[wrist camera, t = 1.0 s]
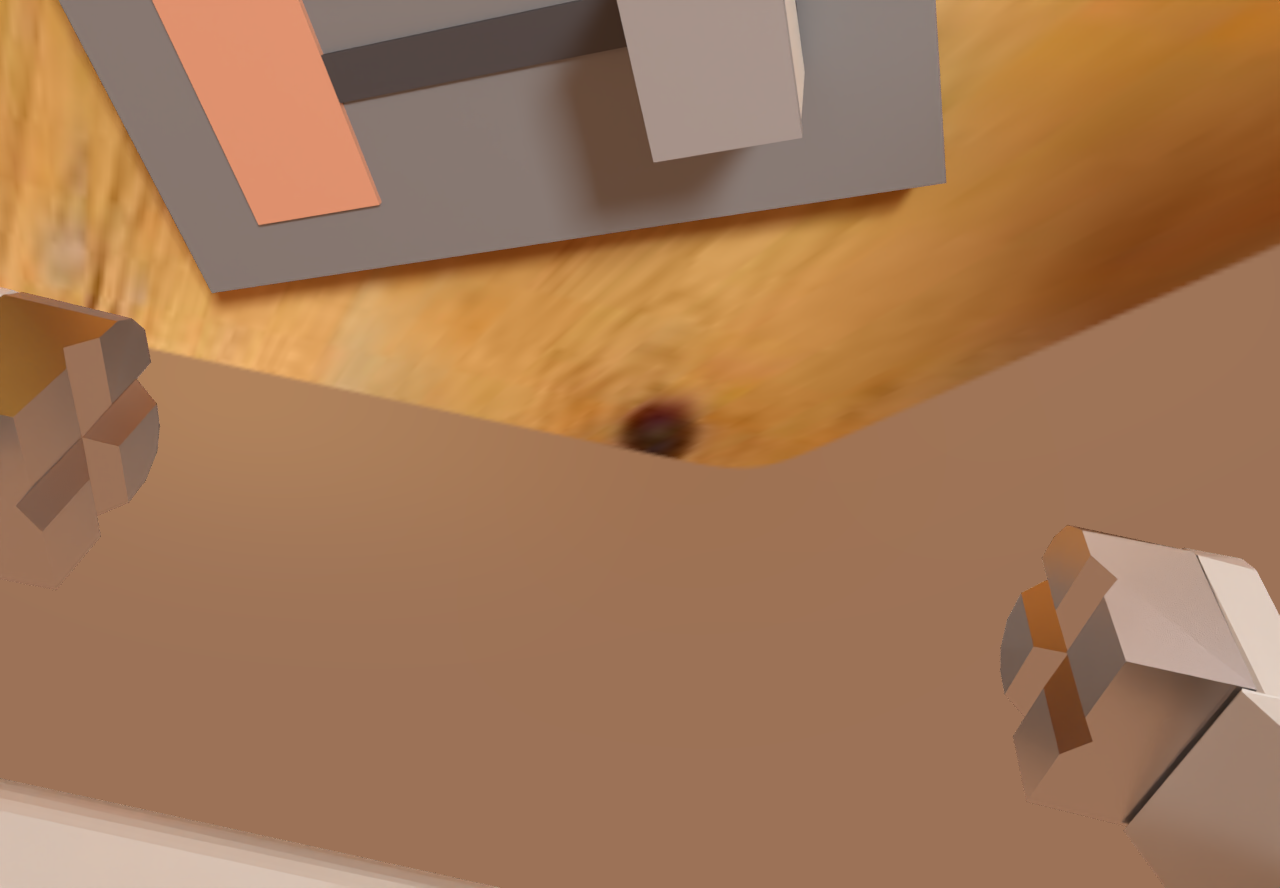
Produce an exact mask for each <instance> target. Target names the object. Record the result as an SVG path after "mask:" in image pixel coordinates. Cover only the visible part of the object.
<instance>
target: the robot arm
mask: <svg viewBox="0 0 1280 888" xmlns="http://www.w3.org/2000/svg"><path fill="white" fill-rule="evenodd" d="M150 363H151V360H150V354H149V349H148V343H147V338H146V333H145V329H143V328H142V327H141V326H140V325H139V324H138V323H137V322H135V321H134V320H133V319H132V318H128V317H124V316H119V315H115V314H111V313H107V312H103V311H99V310H95V309H90V308H86V307H82V306H78V305H74V304H70V303H66V302H61V301H57V300H53V299H49V298H45V297H41V296H37V295H33V294H28V293H24V292H20V293H18V292H16V291H14V290H11V289H6V288H2V287H0V579H2V580H7V581H12V582H17V583H23V584H28V585H33V586H38V587H44V588H49V589H54V590H57V588H58V587H59V586H60V585H61V584H62V583H63V581H64V580H65V579H66V578H67V577H68V575H69V574H70V573H71V572H72V571H73V569H74V568H75V567H76V566H77V565H78V563H79V562H80V561H81V560H82V558H83V557H84V556H85V555H86V554H87V553H88V551H89V550H90V549H91V548H92V547H93V545H94V544H95V543H96V542H97V540H98V539H99V538H100V537H101V535H100V530H99V524H98V518H97V516H98V515H100V514H103V513H105V512H108V511H110V510H112V509H115V508H117V507H120V506H122V505H124V504H126V503H129V501H130V500H131V499H132V498H133V496H134V495H135V494H136V492H137V491H138V490H139V488H140V487H141V486H142V484H143V483H144V482H145V481H146V478H147V476H148V474H149V471H150V468H151V466H152V463H153V461H154V458H155V456H156V453H157V449H158V438H159V428H160V424H159V417H158V408H157V403H156V402H155V401H154V399H152V397H151V396H150V395H149V393H148V392H147V391H146V390H145V388H144V387H143V386H142V385H141V384H140V382H139V381H138V380H137V378H138V377H139V376H140V375H141V373H142V372H143V371H144V370H145V369H146V367H147V366H148V365H149V364H150ZM1042 560H1043V564H1044V568H1045V572H1046V575H1047V579H1048V580H1046V581H1044V582H1042V583H1040V584H1038V585H1036V586H1034V587H1032V588H1030V589H1028V590H1026V591H1024V592H1022V593H1021V594H1020V596H1019V598H1018V600H1017V602H1016V604H1015V606H1014V608H1013V610H1012V612H1011V614H1010V616H1009V617H1008V619H1007V623H1006V628H1005V632H1004V636H1003V640H1002V645H1001V668H1000V670H1001V677H1002V682H1003V688H1004V694H1005V695H1006V697H1007V698H1008V699H1009V700H1010V701H1011V702H1012V703H1013V705H1014V706H1015V707H1016V708H1017V709H1018V710H1019V711H1020V713H1021V714H1022V715H1023V716H1024V717H1025V718H1024V719H1023V721H1022V722H1021V724H1020V726H1019V727H1018V729H1017V730H1016V732H1015V734H1014V735H1013V739H1014V744H1015V749H1016V753H1017V759H1018V764H1019V769H1020V773H1021V778H1022V783H1023V788H1024V793H1025V798H1026V802H1029V803H1032V804H1037V805H1041V806H1045V807H1049V808H1053V809H1057V810H1061V811H1065V812H1069V813H1073V814H1077V815H1081V816H1085V817H1090V818H1093V819H1097V820H1102V821H1106V822H1110V823H1114V824H1118V825H1122V826H1126V828H1125V829H1124V832H1125V833H1126V835H1127V836H1128V838H1129V839H1130V840H1131V842H1132V843H1133V844H1134V846H1135V847H1136V848H1137V850H1138V851H1139V853H1140V854H1141V855H1142V857H1143V858H1144V859H1145V861H1146V862H1147V864H1148V865H1149V866H1150V868H1151V869H1152V870H1153V872H1154V873H1155V875H1156V876H1157V877H1158V878H1159V880H1160V881H1161V883H1162V884H1163V885H1164V887H1165V888H1280V616H1279V614H1278V612H1277V610H1276V608H1275V606H1274V604H1273V602H1272V600H1271V598H1270V597H1269V594H1268V593H1267V590H1266V589H1265V587H1264V585H1263V583H1262V581H1261V579H1260V577H1259V575H1258V573H1257V571H1256V570H1255V569H1254V568H1253V567H1252V566H1250V565H1249V564H1248V563H1247V562H1245V561H1244V560H1243V559H1240V558H1235V557H1229V556H1224V555H1219V554H1214V553H1208V552H1203V551H1198V550H1193V549H1187V548H1182V549H1178V548H1173V547H1168V546H1164V545H1159V544H1155V543H1150V542H1145V541H1140V540H1136V539H1131V538H1126V537H1122V536H1117V535H1112V534H1108V533H1103V532H1098V531H1094V530H1089V529H1084V528H1080V527H1075V526H1070V525H1067V526H1066V527H1065V528H1064V529H1062V530H1061V531H1060V532H1059V533H1058V534H1057V535H1056V536H1054V538H1053V540H1052V541H1051V543H1050V545H1049V546H1048V548H1047V550H1046V551H1045V553H1044V555H1043V556H1042ZM0 888H499V887H495V886H490V885H486V884H481V883H477V882H472V881H467V880H463V879H459V878H454V877H449V876H445V875H440V874H436V873H431V872H427V871H422V870H417V869H412V868H408V867H404V866H399V865H395V864H390V863H386V862H381V861H376V860H372V859H367V858H363V857H358V856H353V855H349V854H344V853H340V852H335V851H330V850H326V849H322V848H317V847H312V846H308V845H303V844H299V843H294V842H290V841H285V840H280V839H276V838H271V837H267V836H262V835H258V834H253V833H248V832H244V831H239V830H235V829H230V828H225V827H221V826H216V825H212V824H207V823H203V822H198V821H194V820H189V819H184V818H180V817H175V816H171V815H166V814H161V813H156V812H152V811H148V810H143V809H138V808H134V807H130V806H125V805H120V804H116V803H111V802H107V801H101V800H97V799H93V798H88V797H84V796H79V795H74V794H70V793H65V792H61V791H56V790H51V789H47V788H42V787H37V786H33V785H29V784H24V783H19V782H15V781H10V780H6V779H1V778H0Z"/></svg>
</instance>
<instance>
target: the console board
mask: <svg viewBox="0 0 1280 888" xmlns="http://www.w3.org/2000/svg"><path fill="white" fill-rule="evenodd" d="M59 2H60V4H61V6H62V8H63V10H64V12H65V13H66V15H67V17H68V19H69V21H70V23H71V25H72V27H73V29H74V31H75V33H76V34H77V36H78V38H79V40H80V42H81V44H82V46H83V48H84V50H85V52H86V54H87V55H88V57H89V59H90V61H91V63H92V65H93V67H94V69H95V71H96V73H97V75H98V76H99V78H100V80H101V82H102V84H103V86H104V88H105V90H106V92H107V94H108V96H109V97H110V99H111V101H112V103H113V105H114V107H115V109H116V111H117V113H118V115H119V117H120V118H121V120H122V122H123V124H124V126H125V128H126V130H127V132H128V134H129V136H130V138H131V140H132V141H133V143H134V145H135V147H136V149H137V151H138V153H139V155H140V157H141V159H142V161H143V162H144V164H145V166H146V168H147V170H148V172H149V174H150V176H151V178H152V180H153V182H154V183H155V185H156V187H157V189H158V191H159V193H160V195H161V197H162V199H163V201H164V203H165V204H166V206H167V208H168V210H169V212H170V214H171V216H172V218H173V220H174V222H175V224H176V225H177V227H178V229H179V231H180V233H181V235H182V237H183V239H184V241H185V243H186V245H187V246H188V248H189V250H190V252H191V254H192V256H193V258H194V260H195V262H196V264H197V266H198V268H199V269H200V271H201V273H202V275H203V277H204V279H205V281H206V283H207V285H208V287H209V289H210V290H211V292H212V293H216V292H223V291H229V290H236V289H243V288H249V287H256V286H263V285H269V284H276V283H283V282H289V281H296V280H303V279H309V278H316V277H323V276H329V275H336V274H342V273H349V272H356V271H362V270H369V269H376V268H382V267H389V266H396V265H402V264H409V263H416V262H422V261H429V260H436V259H442V258H449V257H456V256H462V255H469V254H476V253H482V252H489V251H496V250H502V249H509V248H516V247H522V246H529V245H536V244H542V243H549V242H556V241H562V240H569V239H576V238H582V237H589V236H596V235H602V234H609V233H616V232H622V231H629V230H636V229H642V228H649V227H656V226H662V225H669V224H676V223H682V222H689V221H696V220H702V219H709V218H716V217H722V216H729V215H736V214H742V213H749V212H756V211H762V210H769V209H776V208H782V207H789V206H796V205H802V204H809V203H816V202H822V201H829V200H836V199H842V198H849V197H856V196H862V195H869V194H875V193H882V192H889V191H895V190H902V189H909V188H915V187H922V186H929V185H935V184H942V183H946V170H945V153H944V136H943V119H942V102H941V85H940V68H939V51H938V34H937V17H936V0H795V3H796V11H797V18H798V26H799V33H800V41H801V48H802V56H803V63H804V71H805V76H804V89H803V102H802V116H801V121H802V129H803V132H802V138H799V139H793V140H787V141H781V142H775V143H769V144H763V145H757V146H751V147H745V148H739V149H732V150H726V151H720V152H714V153H708V154H702V155H696V156H690V157H684V158H678V159H672V160H666V161H660V162H653V158H652V153H651V149H650V144H649V140H648V136H647V131H646V127H645V122H644V118H643V114H642V109H641V105H640V101H639V96H638V92H637V87H636V83H635V79H634V74H633V70H632V65H631V61H630V57H629V52H628V48H627V43H626V39H625V35H624V30H623V26H622V22H621V17H620V13H619V8H618V4H617V0H59Z"/></svg>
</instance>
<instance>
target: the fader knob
mask: <svg viewBox="0 0 1280 888" xmlns="http://www.w3.org/2000/svg"><path fill="white" fill-rule="evenodd" d="M617 4H618V8H619V13H620V17H621V22H622V26H623V30H624V35H625V39H626V43H627V48H628V52H629V57H630V61H631V65H632V70H633V74H634V79H635V83H636V87H637V92H638V96H639V101H640V105H641V109H642V114H643V118H644V122H645V127H646V131H647V136H648V140H649V144H650V149H651V153H652V158H653V162H660V161H666V160H672V159H678V158H684V157H690V156H696V155H702V154H708V153H714V152H720V151H726V150H732V149H739V148H745V147H751V146H757V145H763V144H769V143H775V142H781V141H787V140H793V139H799V138H802V132H803V129H802V121H801V116H802V102H803V89H804V76H805V71H804V63H803V56H802V48H801V41H800V33H799V26H798V18H797V11H796V3H795V0H617Z"/></svg>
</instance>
